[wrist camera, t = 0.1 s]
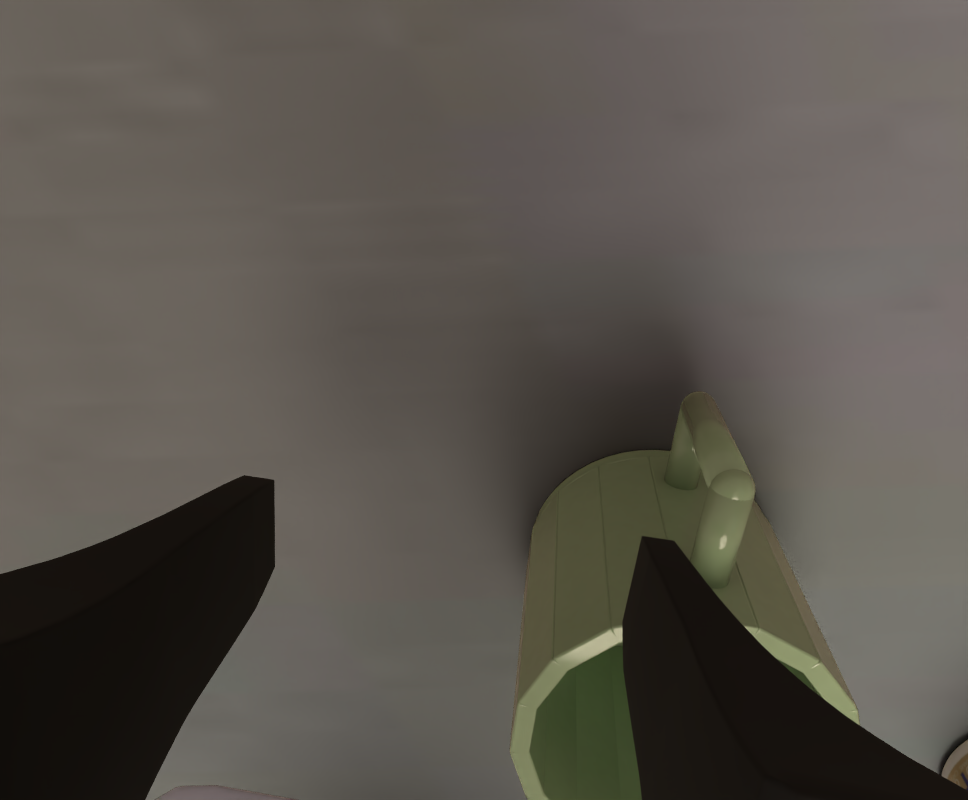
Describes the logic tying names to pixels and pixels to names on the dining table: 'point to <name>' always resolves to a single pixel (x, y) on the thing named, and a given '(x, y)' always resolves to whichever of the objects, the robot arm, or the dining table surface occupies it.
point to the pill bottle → (958, 766)
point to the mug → (605, 588)
